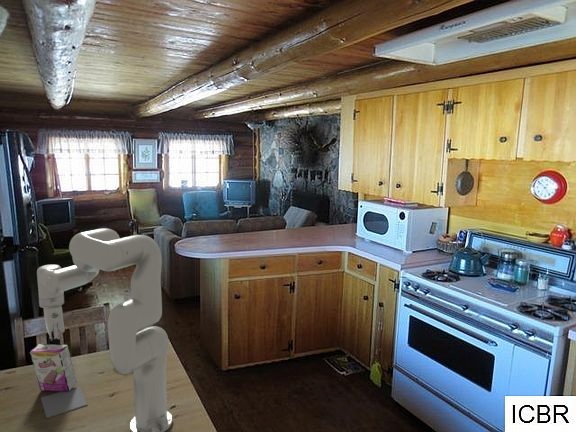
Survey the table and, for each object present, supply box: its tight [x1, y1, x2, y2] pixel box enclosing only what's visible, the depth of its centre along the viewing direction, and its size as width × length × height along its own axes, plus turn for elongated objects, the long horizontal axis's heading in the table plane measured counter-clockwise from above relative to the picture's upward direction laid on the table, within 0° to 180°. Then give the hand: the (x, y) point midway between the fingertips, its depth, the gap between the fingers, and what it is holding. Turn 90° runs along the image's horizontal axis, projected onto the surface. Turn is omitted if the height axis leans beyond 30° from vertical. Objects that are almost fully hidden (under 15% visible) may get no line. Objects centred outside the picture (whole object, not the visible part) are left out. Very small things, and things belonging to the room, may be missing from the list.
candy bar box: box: [29, 343, 78, 392], centre depth 146 cm, size 11×5×16 cm, turn 84°
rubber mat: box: [40, 386, 88, 419], centre depth 141 cm, size 13×12×1 cm
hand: (55, 349), depth 148 cm, fingers closed
